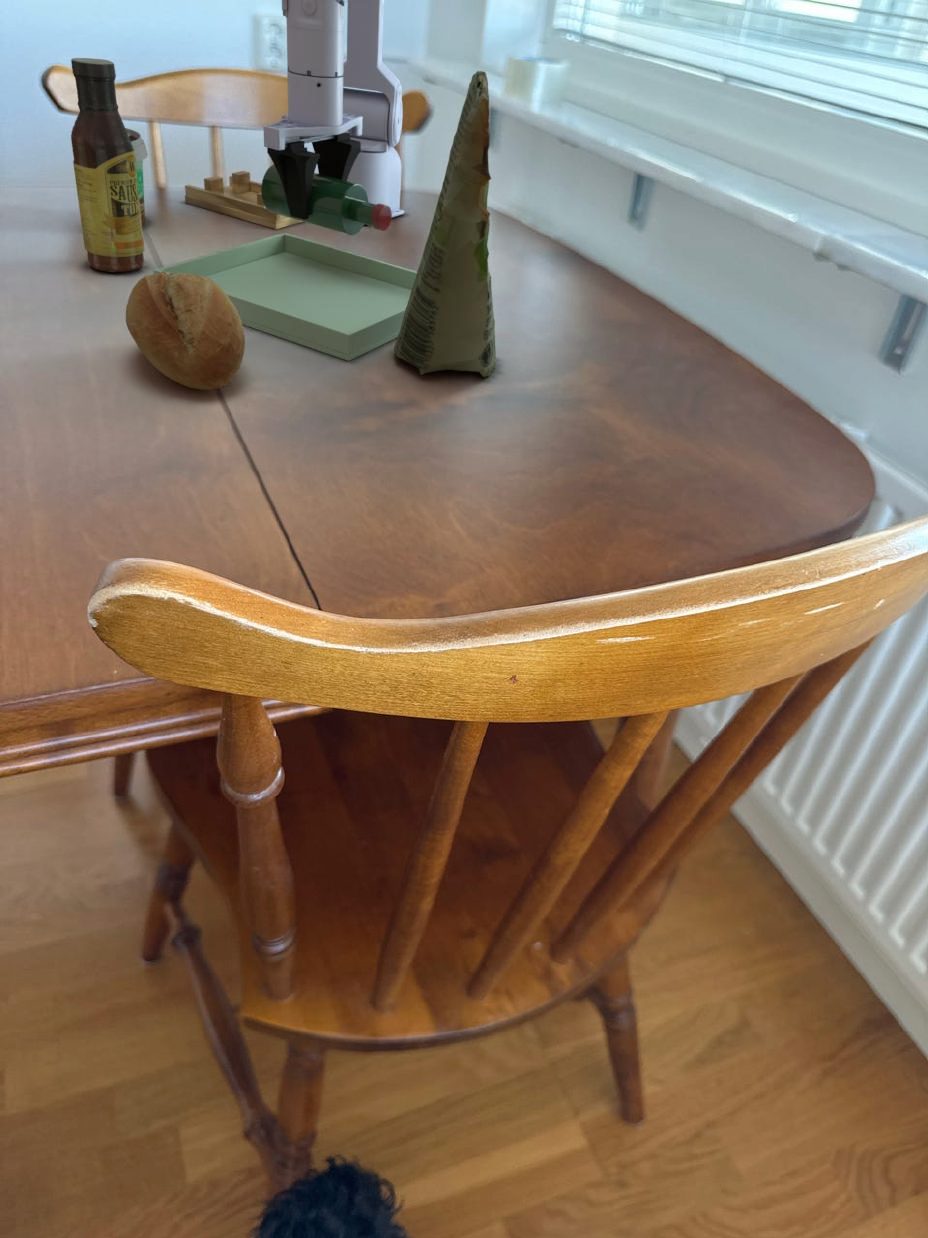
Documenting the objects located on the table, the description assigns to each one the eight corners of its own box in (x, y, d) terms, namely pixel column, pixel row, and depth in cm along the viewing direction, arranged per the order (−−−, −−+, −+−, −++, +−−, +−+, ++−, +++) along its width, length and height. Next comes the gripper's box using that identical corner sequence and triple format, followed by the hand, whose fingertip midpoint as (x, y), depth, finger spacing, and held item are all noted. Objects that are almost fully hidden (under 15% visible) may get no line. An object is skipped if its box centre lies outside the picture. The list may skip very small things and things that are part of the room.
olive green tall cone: (449, 332, 95) (475, 58, 80) (530, 373, 89) (576, 83, 73) (367, 352, 88) (378, 57, 73) (448, 397, 82) (478, 85, 67)
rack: (234, 191, 130) (233, 165, 128) (322, 216, 125) (322, 189, 123) (184, 202, 123) (182, 175, 121) (276, 229, 118) (275, 200, 116)
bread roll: (155, 408, 74) (143, 313, 70) (116, 341, 84) (104, 253, 79) (266, 395, 79) (263, 304, 74) (217, 332, 89) (211, 249, 84)
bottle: (291, 208, 105) (290, 160, 102) (397, 238, 100) (400, 188, 97) (261, 216, 101) (260, 166, 98) (370, 247, 96) (372, 195, 93)
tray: (284, 254, 110) (283, 232, 108) (459, 307, 101) (461, 284, 100) (155, 294, 95) (152, 269, 93) (348, 361, 86) (349, 334, 85)
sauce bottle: (129, 278, 98) (102, 67, 86) (76, 269, 98) (42, 58, 86) (157, 262, 103) (136, 61, 91) (106, 253, 104) (78, 52, 91)
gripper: (327, 62, 99) (326, 194, 107) (237, 69, 88) (244, 215, 97) (379, 73, 96) (374, 207, 105) (294, 82, 86) (296, 230, 94)
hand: (315, 212), depth 101 cm, fingers closed on bottle, 5 cm apart
